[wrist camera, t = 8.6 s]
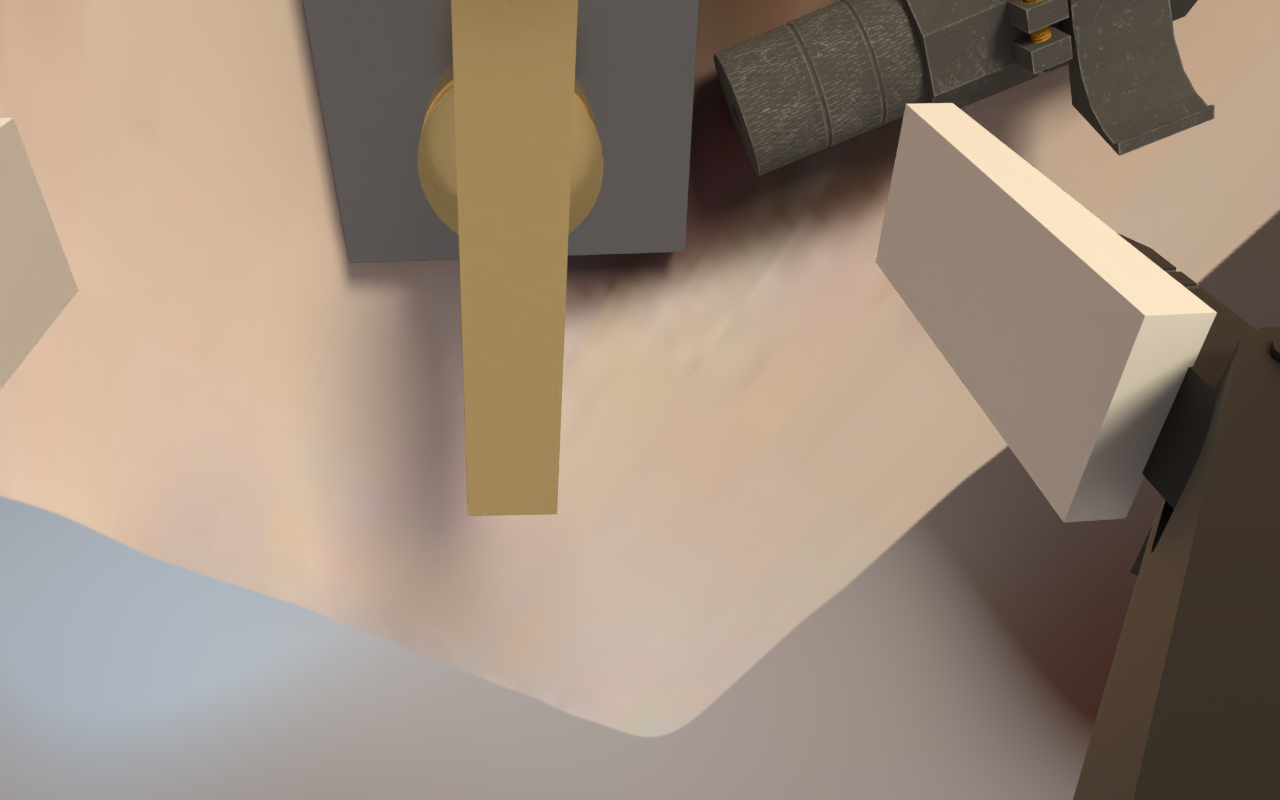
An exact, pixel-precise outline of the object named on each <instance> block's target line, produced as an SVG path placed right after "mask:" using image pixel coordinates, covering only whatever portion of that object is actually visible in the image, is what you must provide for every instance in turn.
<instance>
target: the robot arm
mask: <svg viewBox="0 0 1280 800" xmlns="http://www.w3.org/2000/svg"><path fill="white" fill-rule="evenodd" d="M876 263H877V264H878V266H879V267H880V269H881V270H882V271H883V273H884V274H885V275H886V277H887V278H888V280H889V281H890V282H891V284H892V285H893V287H894V288H895V289H896V291H897V292H898V293H899V295H900V296H901V298H902V299H903V300H904V302H905V303H906V305H907V306H908V307H909V309H910V310H911V311H912V313H913V314H914V316H915V317H916V318H917V320H918V321H919V323H920V324H921V325H922V327H923V328H924V329H925V331H926V332H927V334H928V335H929V336H930V338H931V339H932V341H933V342H934V343H935V345H936V346H937V347H938V349H939V350H940V352H941V353H942V354H943V356H944V357H945V359H946V360H947V361H948V363H949V364H950V365H951V367H952V368H953V370H954V371H955V372H956V374H957V375H958V377H959V378H960V379H961V381H962V382H963V383H964V385H965V386H966V388H967V389H968V390H969V392H970V393H971V395H972V396H973V397H974V399H975V400H976V401H977V403H978V404H979V406H980V407H981V408H982V410H983V411H984V413H985V414H986V415H987V417H988V418H989V419H990V421H991V422H992V424H993V425H994V426H995V428H996V429H997V431H998V432H999V433H1000V435H1001V436H1002V437H1003V439H1004V440H1005V442H1006V443H1007V444H1008V446H1009V447H1010V449H1011V450H1012V451H1013V453H1014V454H1015V455H1016V457H1017V458H1018V460H1019V461H1020V462H1021V464H1022V465H1023V467H1024V468H1025V469H1026V471H1027V472H1028V473H1029V475H1030V476H1031V478H1032V479H1033V480H1034V481H1035V483H1036V485H1037V486H1038V487H1039V489H1040V490H1041V491H1042V492H1043V494H1044V495H1045V497H1046V498H1047V500H1048V501H1049V502H1050V504H1051V505H1052V506H1053V508H1054V509H1055V511H1056V512H1057V514H1058V515H1059V516H1060V518H1061V519H1062V520H1063V522H1077V521H1092V520H1106V519H1120V518H1126V516H1127V514H1128V511H1129V509H1130V507H1131V505H1132V503H1133V500H1134V498H1135V496H1136V494H1137V491H1138V489H1139V487H1140V484H1141V482H1142V480H1143V478H1144V476H1145V477H1146V478H1147V480H1148V481H1149V482H1150V483H1151V484H1152V485H1153V486H1154V487H1155V489H1156V490H1157V491H1158V492H1159V493H1160V494H1161V495H1162V497H1163V498H1164V499H1165V500H1164V502H1163V504H1162V506H1161V508H1160V510H1159V512H1158V515H1157V517H1156V519H1155V521H1154V523H1153V525H1152V527H1151V529H1150V532H1149V534H1148V536H1147V538H1146V540H1145V542H1144V544H1143V547H1142V549H1141V551H1140V553H1139V555H1138V557H1137V559H1136V561H1135V564H1134V566H1133V568H1132V570H1131V573H1133V574H1135V575H1138V577H1137V581H1136V584H1135V588H1134V591H1133V594H1132V598H1131V602H1130V605H1129V608H1128V612H1127V615H1126V619H1125V622H1124V625H1123V630H1122V632H1121V636H1120V639H1119V643H1118V646H1117V650H1116V653H1115V657H1114V660H1113V664H1112V667H1111V671H1110V674H1109V677H1108V681H1107V684H1106V688H1105V692H1104V695H1103V698H1102V702H1101V705H1100V709H1099V712H1098V715H1097V719H1096V722H1095V726H1094V729H1093V732H1092V736H1091V740H1090V743H1089V746H1088V750H1087V753H1086V757H1085V760H1084V764H1083V767H1082V770H1081V774H1080V777H1079V781H1078V785H1077V788H1076V791H1075V795H1074V798H1073V800H1280V328H1277V327H1274V328H1273V327H1263V328H1259V329H1255V328H1253V327H1252V326H1251V325H1249V324H1248V323H1247V322H1245V321H1244V320H1243V319H1242V318H1240V317H1239V316H1238V315H1236V314H1235V313H1234V312H1233V311H1231V310H1230V309H1229V308H1227V307H1226V306H1225V305H1224V304H1222V303H1221V302H1220V301H1218V300H1217V299H1216V298H1214V297H1213V296H1212V295H1211V294H1209V293H1208V292H1207V291H1205V290H1204V289H1203V288H1196V283H1195V282H1194V281H1193V280H1191V279H1190V278H1189V277H1187V276H1186V275H1185V274H1184V273H1182V272H1176V267H1174V266H1173V265H1172V264H1171V263H1169V262H1168V261H1167V260H1165V259H1164V258H1163V257H1162V256H1160V255H1159V254H1158V253H1156V252H1155V251H1154V250H1153V249H1151V248H1149V247H1147V246H1145V245H1143V244H1140V243H1138V242H1136V241H1134V240H1132V239H1129V238H1127V237H1125V236H1123V235H1121V234H1118V233H1116V232H1115V231H1113V230H1112V229H1111V228H1110V227H1108V226H1107V225H1106V224H1105V223H1103V222H1102V221H1101V220H1100V219H1098V218H1097V217H1096V216H1094V215H1093V214H1092V213H1091V212H1089V211H1088V210H1087V209H1086V208H1084V207H1083V206H1082V205H1081V204H1079V203H1078V202H1077V201H1076V200H1074V199H1073V198H1072V197H1070V196H1069V195H1068V194H1067V193H1065V192H1064V191H1063V190H1062V189H1060V188H1059V187H1058V186H1057V185H1055V184H1054V183H1053V182H1052V181H1050V180H1049V179H1048V178H1047V177H1045V176H1044V175H1043V174H1041V173H1040V172H1039V171H1038V170H1036V169H1035V168H1034V167H1033V166H1031V165H1030V164H1029V163H1028V162H1026V161H1025V160H1024V159H1023V158H1021V157H1020V156H1019V155H1018V154H1016V153H1015V152H1014V151H1012V150H1011V149H1010V148H1009V147H1007V146H1006V145H1005V144H1004V143H1002V142H1001V141H1000V140H999V139H997V138H996V137H995V136H994V135H992V134H991V133H990V132H989V131H987V130H986V129H985V128H983V127H982V126H981V125H980V124H978V123H977V122H976V121H975V120H973V119H972V118H971V117H970V116H968V115H967V114H966V113H965V112H963V111H962V110H961V109H959V108H958V107H957V106H956V105H954V104H953V103H919V104H906V106H905V111H904V117H903V122H902V127H901V132H900V138H899V143H898V148H897V154H896V159H895V164H894V169H893V175H892V180H891V185H890V190H889V196H888V201H887V206H886V211H885V217H884V222H883V227H882V232H881V238H880V243H879V248H878V253H877V259H876ZM77 291H78V289H77V286H76V283H75V281H74V278H73V275H72V273H71V270H70V267H69V265H68V262H67V259H66V257H65V254H64V251H63V249H62V246H61V243H60V241H59V238H58V235H57V233H56V230H55V227H54V225H53V222H52V219H51V217H50V214H49V211H48V209H47V206H46V203H45V201H44V198H43V195H42V193H41V190H40V188H39V185H38V182H37V180H36V177H35V174H34V172H33V169H32V166H31V164H30V161H29V158H28V156H27V153H26V150H25V148H24V145H23V142H22V140H21V137H20V134H19V132H18V129H17V126H16V124H15V121H14V118H0V390H1V388H2V387H3V386H4V385H5V383H6V382H7V381H8V379H9V378H10V377H11V376H12V374H13V373H14V372H15V371H16V369H17V368H18V367H19V365H20V364H21V363H22V362H23V360H24V359H25V358H26V357H27V355H28V354H29V353H30V351H31V350H32V349H33V348H34V346H35V345H36V344H37V343H38V341H39V340H40V339H41V337H42V336H43V335H44V334H45V332H46V331H47V330H48V328H49V327H50V326H51V325H52V323H53V322H54V321H55V320H56V318H57V317H58V316H59V314H60V313H61V312H62V311H63V309H64V308H65V307H66V306H67V304H68V303H69V302H70V300H71V299H72V298H73V297H74V295H75V294H76V293H77Z"/></svg>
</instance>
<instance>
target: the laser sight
mask: <svg viewBox="0 0 1280 800" xmlns="http://www.w3.org/2000/svg"><path fill="white" fill-rule="evenodd" d="M1196 2H1197V0H840V2H839V1H837V2H835V3H833V4H831V5H829V6H826V7H824V8H822V9H820V10H817V11H815V12H813V13H810V14H808V15H806V16H803V17H801V18H798V19H796V20H793V21H790V22H788V23H787V24H786V25H781V26H779V27H777V28H775V29H773V30H771V31H769V32H767V33H764V34H762V35H759V36H757V37H755V38H752V39H750V40H747V41H745V42H743V43H741V44H738V45H736V46H734V47H732V48H729V49H726V50H724V51H721V52H719V53H716V54H714V61H715V66H716V70H717V74H718V78H719V81H720V85H721V88H722V91H723V94H724V97H725V100H726V103H727V106H728V109H729V112H730V115H731V117H732V120H733V123H734V126H735V128H736V131H737V133H738V136H739V138H740V141H741V143H742V146H743V148H744V151H745V153H746V155H747V157H748V160H749V162H750V164H751V166H752V168H753V170H754V172H755V173H756V175H757V176H758V177H759V176H762V175H764V174H766V173H768V172H770V171H773V170H775V169H777V168H780V167H783V166H785V165H787V164H790V163H792V162H794V161H797V160H799V159H802V158H804V157H807V156H809V155H811V154H813V153H816V152H819V151H822V150H825V149H826V148H827V147H832V146H835V145H837V144H839V143H841V142H843V141H846V140H848V139H850V138H853V137H855V136H858V135H860V134H862V133H865V132H868V131H870V130H873V129H876V128H878V127H879V126H883V125H885V124H888V123H890V122H892V121H894V120H896V119H899V118H901V117H904V111H905V106H906V104H919V103H953V104H954V105H956V106H957V107H958V108H962V107H964V106H967V105H969V104H972V103H974V102H976V101H979V100H981V99H984V98H986V97H989V96H991V95H994V94H996V93H998V92H1001V91H1003V90H1006V89H1008V88H1011V87H1013V86H1015V85H1018V84H1020V83H1023V82H1025V81H1028V80H1030V79H1033V78H1035V77H1037V75H1038V74H1039V72H1041V71H1044V72H1046V73H1047V72H1050V71H1052V70H1055V69H1057V68H1059V67H1062V66H1064V65H1067V64H1069V74H1070V85H1071V95H1072V105H1073V106H1074V107H1075V108H1076V109H1077V110H1078V111H1079V113H1080V114H1081V115H1082V116H1083V117H1084V118H1085V119H1086V120H1087V121H1088V122H1089V123H1090V125H1091V126H1092V127H1093V128H1094V129H1095V130H1096V131H1097V132H1098V133H1099V134H1100V135H1101V136H1102V138H1103V139H1104V140H1105V141H1106V142H1107V143H1108V144H1109V145H1110V146H1111V147H1112V148H1113V149H1114V151H1115V152H1116V153H1117V154H1118V155H1119V156H1120V155H1123V154H1125V153H1128V152H1130V151H1133V150H1135V149H1138V148H1140V147H1143V146H1145V145H1148V144H1150V143H1153V142H1156V141H1158V140H1161V139H1163V138H1166V137H1168V136H1171V135H1173V134H1176V133H1178V132H1181V131H1183V130H1186V129H1188V128H1191V127H1194V126H1196V125H1199V124H1201V123H1204V122H1206V121H1209V120H1211V119H1214V105H1210V106H1208V105H1207V104H1206V103H1205V102H1204V101H1203V100H1202V98H1201V97H1200V96H1199V95H1198V94H1197V93H1196V91H1195V89H1194V87H1193V86H1192V84H1191V82H1190V80H1189V79H1188V77H1187V75H1186V73H1185V71H1184V69H1183V65H1182V62H1181V58H1180V55H1179V52H1178V48H1177V45H1176V41H1175V37H1174V30H1173V22H1172V21H1174V20H1177V19H1179V18H1182V17H1184V16H1186V14H1187V13H1188V12H1189V11H1190V9H1191V8H1192V7H1193V6H1194V4H1195V3H1196Z"/></svg>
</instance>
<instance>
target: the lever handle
mask: <svg viewBox="0 0 1280 800" xmlns="http://www.w3.org/2000/svg"><path fill="white" fill-rule="evenodd" d="M451 14H452V45H453V63H452V64H451V65H449V66H448V68H447V69H446V70H445V71H444V72H443V73H442V74H441V76H440V77H439V79H438V81H437V82H436V84H435V86H434V88H433V90H432V92H431V95H430V98H429V101H428V105H427V109H426V114H425V118H424V123H423V127H422V132H421V137H420V141H419V147H418V173H419V178H420V182H421V186H422V189H423V191H424V194H425V196H426V199H427V200H428V202H429V204H430V206H431V207H432V209H433V210H434V212H435V213H436V214H437V216H438V217H439V218H440V219H441V220H442V221H443V222H444V223H445V224H446V225H447V226H448V227H449V228H450V229H451V230H453V231H454V232H455V233H456V234H458V235H459V258H460V289H461V319H462V350H463V380H464V411H465V441H466V472H467V503H468V516H489V515H541V514H557V500H558V476H559V451H560V427H561V403H562V378H563V354H564V330H565V305H566V281H567V257H568V234H570V233H571V232H572V231H574V230H575V229H576V228H577V227H578V226H579V225H580V224H581V223H582V222H583V220H584V219H585V218H586V217H587V215H588V214H589V213H590V211H591V209H592V207H593V206H594V204H595V202H596V199H597V197H598V195H599V192H600V188H601V184H602V178H603V154H602V148H601V143H600V139H599V135H598V131H597V127H596V123H595V119H594V115H593V111H592V107H591V104H590V100H589V98H588V96H587V93H586V91H585V89H584V88H583V86H582V84H581V83H580V81H579V80H578V78H577V77H576V76H575V62H576V38H577V14H578V0H451Z"/></svg>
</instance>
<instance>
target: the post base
mask: <svg viewBox="0 0 1280 800" xmlns="http://www.w3.org/2000/svg"><path fill="white" fill-rule="evenodd" d="M303 5H304V11H305V16H306V22H307V28H308V33H309V39H310V45H311V50H312V56H313V61H314V67H315V73H316V78H317V84H318V90H319V95H320V101H321V107H322V112H323V118H324V123H325V129H326V135H327V140H328V146H329V152H330V157H331V163H332V168H333V174H334V180H335V185H336V191H337V197H338V202H339V208H340V213H341V219H342V225H343V230H344V236H345V242H346V247H347V253H348V258H349V263H358V262H389V261H419V260H449V259H460V258H459V235H458V234H456V233H455V232H454V231H453V230H451V229H450V228H449V227H448V226H447V225H446V224H445V223H444V222H443V221H442V220H441V219H440V218H439V217H438V216H437V214H436V213H435V212H434V210H433V209H432V207H431V206H430V204H429V202H428V200H427V199H426V196H425V194H424V191H423V189H422V186H421V182H420V178H419V173H418V147H419V141H420V137H421V132H422V127H423V123H424V118H425V114H426V109H427V105H428V101H429V98H430V95H431V92H432V90H433V88H434V86H435V84H436V82H437V81H438V79H439V77H440V76H441V74H442V73H443V72H444V71H445V70H446V69H447V68H448V66H449V65H451V64H452V63H453V45H452V14H451V0H303ZM698 5H699V0H578V14H577V38H576V62H575V76H576V77H577V78H578V80H579V81H580V83H581V84H582V86H583V88H584V89H585V91H586V93H587V96H588V98H589V100H590V104H591V107H592V111H593V115H594V119H595V123H596V127H597V131H598V135H599V139H600V143H601V148H602V154H603V178H602V184H601V188H600V192H599V195H598V197H597V199H596V202H595V204H594V206H593V207H592V209H591V211H590V213H589V214H588V215H587V217H586V218H585V219H584V220H583V222H582V223H581V224H580V225H579V226H578V227H577V228H576V229H575V230H574V231H572V232H571V233H570V234H568V256H570V255H600V254H630V253H661V252H685V239H686V221H687V203H688V185H689V167H690V149H691V131H692V113H693V95H694V77H695V59H696V41H697V23H698Z"/></svg>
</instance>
